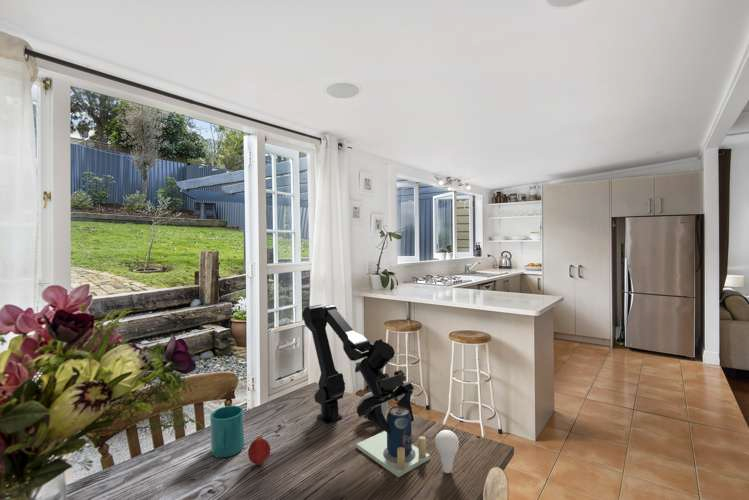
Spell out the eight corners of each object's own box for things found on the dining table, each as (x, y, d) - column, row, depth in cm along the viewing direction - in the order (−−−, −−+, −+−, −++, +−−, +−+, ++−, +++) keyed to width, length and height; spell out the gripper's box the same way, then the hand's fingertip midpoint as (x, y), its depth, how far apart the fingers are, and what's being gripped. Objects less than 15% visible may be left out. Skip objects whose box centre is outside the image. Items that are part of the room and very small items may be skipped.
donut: (359, 424, 123) (358, 394, 123) (359, 419, 127) (358, 390, 126) (389, 423, 124) (388, 393, 124) (388, 418, 127) (387, 389, 127)
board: (356, 447, 109) (356, 427, 109) (387, 433, 117) (386, 414, 117) (398, 477, 96) (397, 453, 95) (429, 459, 103) (429, 437, 103)
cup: (203, 466, 102) (202, 426, 101) (216, 442, 113) (215, 406, 113) (238, 463, 103) (236, 423, 102) (247, 440, 115) (246, 404, 114)
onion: (250, 473, 98) (249, 443, 98) (247, 462, 103) (246, 433, 103) (272, 467, 101) (271, 438, 101) (268, 456, 106) (267, 428, 106)
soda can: (410, 461, 100) (409, 417, 100) (384, 458, 102) (384, 415, 101) (413, 447, 107) (412, 406, 106) (389, 444, 108) (389, 404, 108)
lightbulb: (454, 483, 93) (454, 439, 93) (431, 475, 96) (431, 433, 96) (462, 470, 98) (462, 429, 98) (440, 462, 101) (440, 423, 101)
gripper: (362, 370, 100) (392, 426, 92) (409, 355, 113) (438, 402, 105) (345, 391, 106) (371, 444, 98) (391, 374, 119) (418, 420, 111)
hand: (401, 426), depth 103 cm, fingers open, 9 cm apart
